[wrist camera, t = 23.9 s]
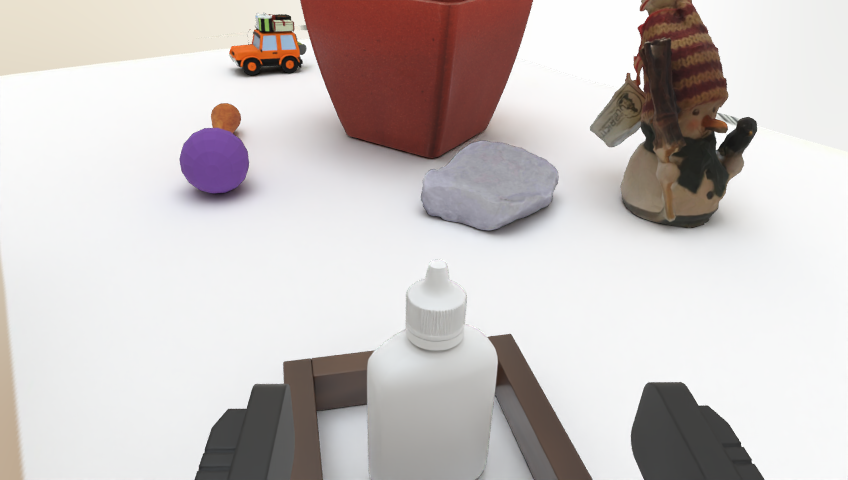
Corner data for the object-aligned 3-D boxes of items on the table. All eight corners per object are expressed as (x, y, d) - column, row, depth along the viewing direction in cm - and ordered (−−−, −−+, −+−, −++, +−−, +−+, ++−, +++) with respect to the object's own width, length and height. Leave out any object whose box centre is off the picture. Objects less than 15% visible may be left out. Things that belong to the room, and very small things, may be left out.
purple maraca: (254, 96, 69) (250, 142, 52) (250, 145, 72) (245, 206, 54) (200, 87, 68) (177, 133, 50) (197, 138, 70) (174, 199, 52)
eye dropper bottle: (378, 432, 31) (376, 231, 25) (485, 444, 31) (509, 241, 25) (362, 506, 27) (355, 289, 21) (484, 520, 27) (512, 302, 21)
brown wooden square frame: (296, 641, 22) (291, 603, 21) (287, 395, 33) (283, 361, 32) (612, 572, 25) (624, 534, 24) (506, 366, 36) (511, 333, 35)
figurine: (573, 219, 53) (615, -25, 44) (582, 168, 64) (618, -37, 54) (736, 244, 50) (821, -13, 40) (717, 187, 61) (781, -29, 51)
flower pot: (443, 178, 60) (452, 1, 52) (303, 138, 69) (291, -19, 61) (523, 129, 74) (540, -17, 66) (398, 101, 83) (399, -31, 75)
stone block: (557, 208, 59) (471, 167, 62) (573, 166, 56) (482, 125, 59) (507, 264, 50) (409, 213, 54) (523, 218, 47) (418, 167, 51)
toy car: (313, 71, 96) (310, 13, 92) (239, 78, 91) (231, 17, 87) (299, 62, 101) (295, 6, 97) (227, 68, 96) (220, 10, 92)
